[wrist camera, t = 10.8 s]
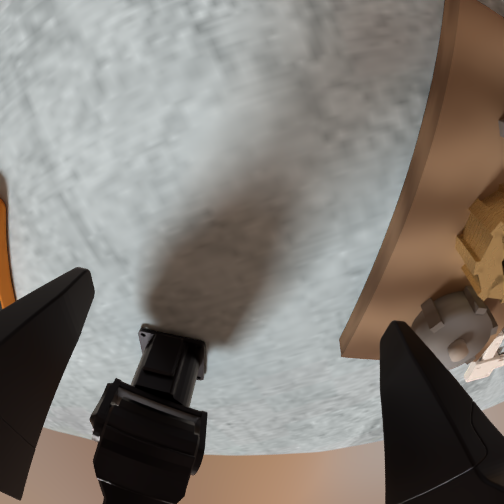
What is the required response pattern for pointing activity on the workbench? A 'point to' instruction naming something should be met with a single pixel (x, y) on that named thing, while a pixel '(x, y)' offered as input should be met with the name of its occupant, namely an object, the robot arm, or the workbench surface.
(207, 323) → the workbench surface
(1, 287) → the multimeter
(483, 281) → the brass gear
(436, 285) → the gear board
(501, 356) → the corner connector
